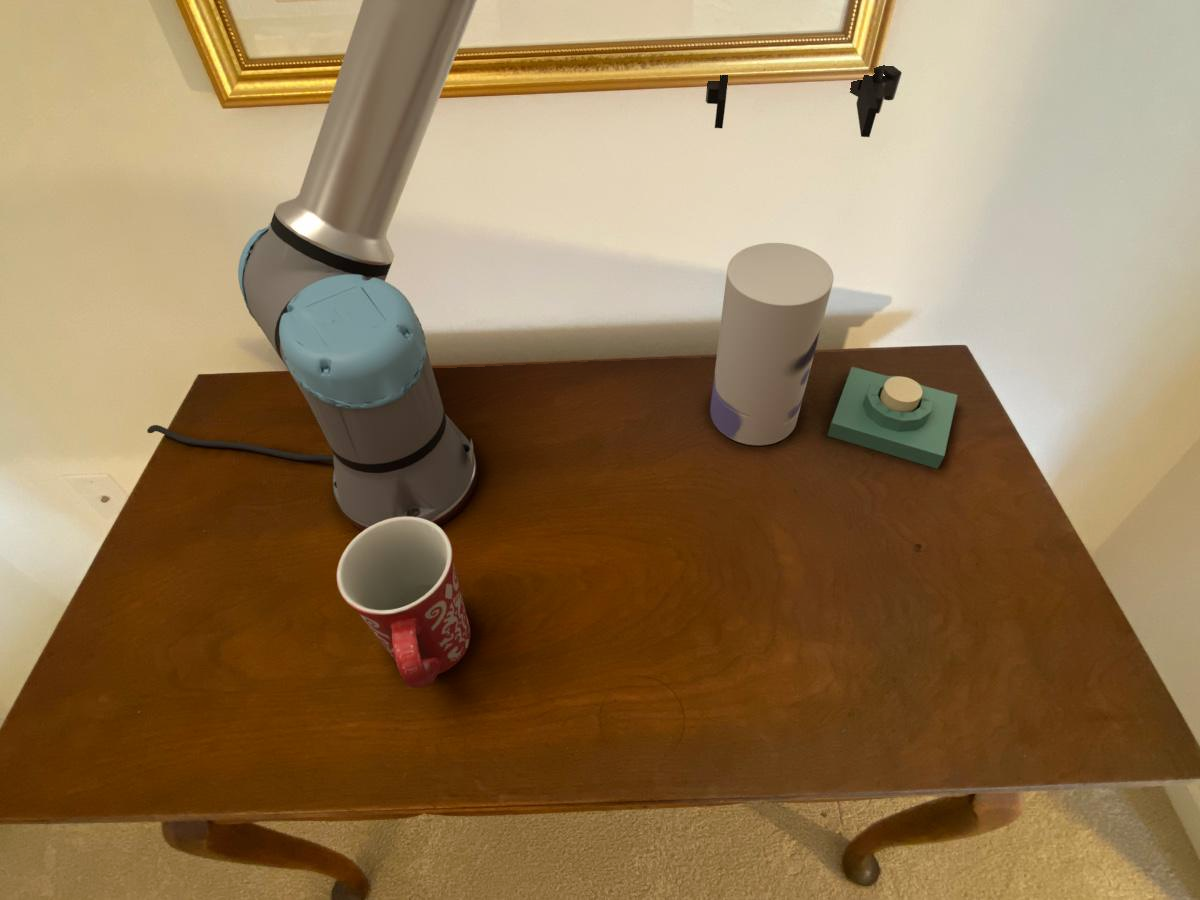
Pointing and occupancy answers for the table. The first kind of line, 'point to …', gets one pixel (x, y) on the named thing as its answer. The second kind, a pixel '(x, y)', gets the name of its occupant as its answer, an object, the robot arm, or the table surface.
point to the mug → (407, 595)
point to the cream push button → (901, 394)
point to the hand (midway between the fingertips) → (793, 118)
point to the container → (767, 340)
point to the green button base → (893, 420)
